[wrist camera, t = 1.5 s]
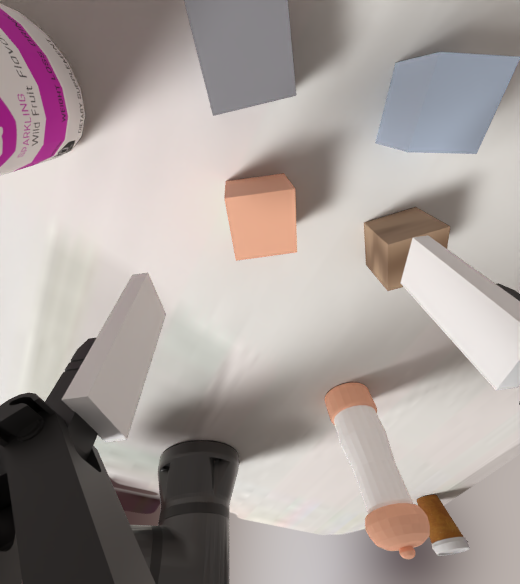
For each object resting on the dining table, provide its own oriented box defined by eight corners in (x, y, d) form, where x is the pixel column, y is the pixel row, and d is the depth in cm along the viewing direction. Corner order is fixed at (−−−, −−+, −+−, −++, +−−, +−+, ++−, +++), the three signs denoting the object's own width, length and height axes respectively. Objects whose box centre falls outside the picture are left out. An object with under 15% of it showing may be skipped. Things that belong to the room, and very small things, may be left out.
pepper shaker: (359, 376, 40) (438, 545, 25) (373, 396, 44) (450, 554, 29) (317, 394, 42) (366, 562, 27) (334, 412, 46) (386, 568, 31)
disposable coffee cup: (406, 499, 80) (430, 554, 71) (437, 490, 77) (466, 545, 68) (417, 505, 85) (440, 557, 76) (446, 496, 82) (474, 549, 73)
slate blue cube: (431, 144, 22) (476, 153, 18) (374, 142, 22) (407, 152, 18) (460, 66, 19) (521, 56, 15) (395, 62, 19) (439, 52, 15)
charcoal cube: (282, 96, 19) (296, 95, 15) (217, 113, 20) (213, 115, 15) (271, -2, 16) (284, -36, 12) (194, 19, 17) (182, -8, 13)
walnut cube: (412, 251, 28) (442, 275, 24) (365, 264, 29) (387, 291, 25) (415, 206, 25) (450, 226, 21) (363, 222, 26) (388, 244, 22)
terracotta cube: (286, 228, 25) (296, 252, 21) (235, 235, 25) (235, 260, 21) (283, 173, 22) (295, 188, 18) (225, 180, 22) (224, 198, 18)
